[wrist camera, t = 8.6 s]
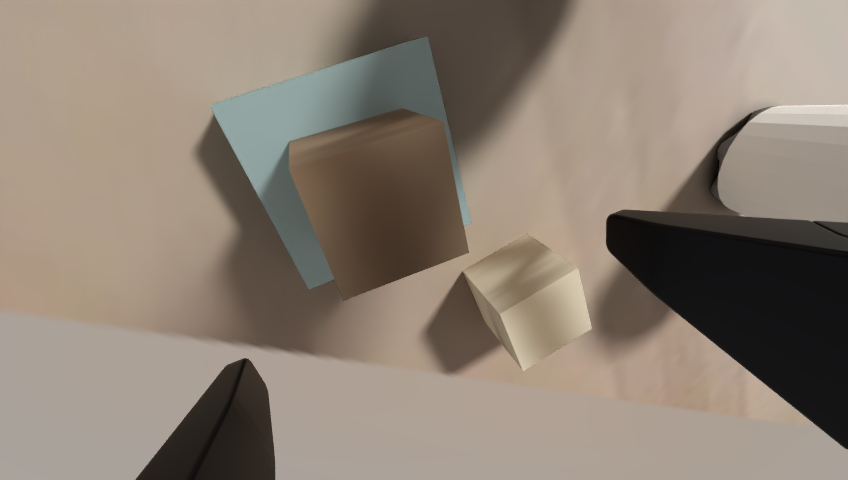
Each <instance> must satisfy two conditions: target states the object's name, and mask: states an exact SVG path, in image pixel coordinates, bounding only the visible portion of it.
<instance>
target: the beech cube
mask: <svg viewBox="0 0 848 480" xmlns="http://www.w3.org/2000/svg"><path fill="white" fill-rule="evenodd" d="M463 273H464V276H465V278H466V280H467V282H468V285H469V287H470V289H471V291H472V294H473V296H474V298H475V300H476V303H477V305H478V307H479V309H480V312H481V314H482V316H483V318H484V321H485V323H486V324H487V325H488V327H489V328H490V329H491V331H492V332H493V333H494V334H495V336H496V337H497V338H498V340H499V341H500V342H501V343H502V345H503V346H504V347H505V349H506V350H507V351H508V352H509V354H510V355H511V356H512V358H513V359H514V360H515V362H516V363H517V364H518V365H519V367H520V368H521V369H522V371H524V370H525V369H527V368H529V367H530V366H532V365H534V364H535V363H537V362H538V361H540V360H542V359H543V358H545V357H547V356H548V355H550V354H552V353H553V352H555V351H556V350H558V349H560V348H561V347H563V346H565V345H566V344H568V343H570V342H571V341H573V340H574V339H576V338H578V337H579V336H581V335H583V334H584V333H586V332H588V331H589V330H591V329H592V327H591V322H590V318H589V314H588V309H587V305H586V301H585V296H584V292H583V288H582V283H581V279H580V275H579V271H578V268H577V267H576V266H574V265H573V264H571V263H570V262H568V261H567V260H565V259H564V258H563V257H561V256H560V255H558V254H557V253H555V252H554V251H552V250H551V249H549V248H548V247H547V246H545V245H544V244H542V243H541V242H539V241H538V240H536V239H535V238H533V237H532V236H530V235H529V234H526V235H524V236H522V237H521V238H519V239H517V240H515V241H514V242H512V243H510V244H508V245H507V246H505V247H503V248H501V249H500V250H498V251H496V252H494V253H493V254H491V255H489V256H487V257H486V258H484V259H482V260H480V261H479V262H477V263H475V264H473V265H472V266H470V267H468V268H466V269H465V270H463Z"/></svg>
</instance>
